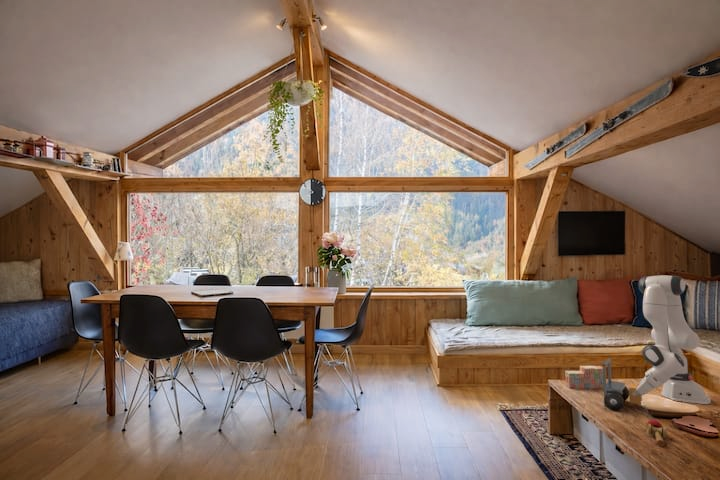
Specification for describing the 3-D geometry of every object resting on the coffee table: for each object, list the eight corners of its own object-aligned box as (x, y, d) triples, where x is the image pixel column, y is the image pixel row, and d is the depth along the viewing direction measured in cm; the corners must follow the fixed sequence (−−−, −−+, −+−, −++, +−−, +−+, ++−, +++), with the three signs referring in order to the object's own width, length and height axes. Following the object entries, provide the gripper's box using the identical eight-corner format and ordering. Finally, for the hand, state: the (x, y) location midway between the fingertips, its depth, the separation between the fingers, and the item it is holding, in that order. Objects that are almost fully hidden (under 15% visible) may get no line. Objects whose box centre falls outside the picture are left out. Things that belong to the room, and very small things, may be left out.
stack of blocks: (569, 388, 269) (568, 368, 269) (565, 385, 275) (564, 365, 276) (605, 388, 268) (604, 368, 268) (600, 385, 274) (599, 365, 274)
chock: (641, 401, 237) (641, 386, 237) (640, 404, 233) (639, 389, 233) (631, 399, 240) (630, 384, 241) (629, 402, 237) (628, 387, 237)
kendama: (673, 451, 189) (664, 429, 206) (670, 437, 189) (661, 416, 205) (652, 451, 193) (645, 429, 209) (649, 437, 192) (642, 416, 209)
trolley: (630, 401, 245) (628, 359, 246) (623, 412, 229) (621, 367, 230) (610, 397, 252) (609, 356, 252) (602, 408, 235) (601, 364, 236)
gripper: (651, 367, 241) (632, 382, 247) (647, 377, 225) (626, 393, 231) (662, 377, 238) (641, 392, 244) (658, 388, 222) (636, 403, 228)
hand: (634, 393), depth 237 cm, fingers closed on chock, 5 cm apart
